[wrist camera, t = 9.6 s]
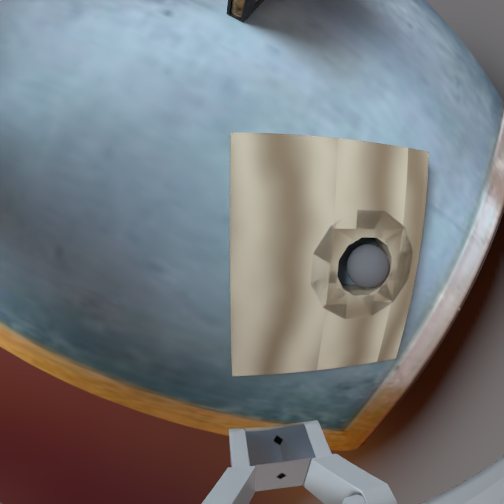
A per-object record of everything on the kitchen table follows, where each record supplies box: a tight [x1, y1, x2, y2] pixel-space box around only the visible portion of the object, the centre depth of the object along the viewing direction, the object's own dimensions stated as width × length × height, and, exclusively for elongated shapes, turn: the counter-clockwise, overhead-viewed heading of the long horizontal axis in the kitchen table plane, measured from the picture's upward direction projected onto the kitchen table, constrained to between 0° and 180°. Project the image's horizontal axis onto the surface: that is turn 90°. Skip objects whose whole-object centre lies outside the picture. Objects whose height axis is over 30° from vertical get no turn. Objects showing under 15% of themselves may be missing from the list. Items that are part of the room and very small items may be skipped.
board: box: [230, 133, 429, 376], centre depth 27 cm, size 18×22×2 cm
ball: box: [347, 244, 389, 288], centre depth 27 cm, size 4×4×4 cm
